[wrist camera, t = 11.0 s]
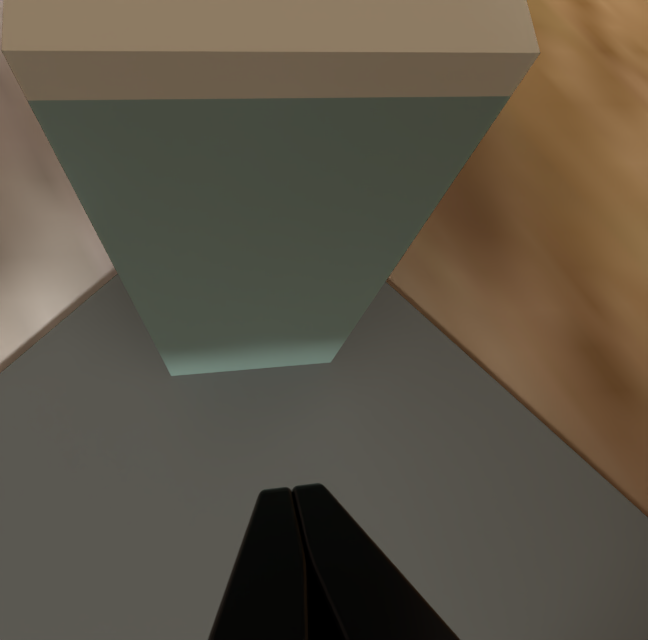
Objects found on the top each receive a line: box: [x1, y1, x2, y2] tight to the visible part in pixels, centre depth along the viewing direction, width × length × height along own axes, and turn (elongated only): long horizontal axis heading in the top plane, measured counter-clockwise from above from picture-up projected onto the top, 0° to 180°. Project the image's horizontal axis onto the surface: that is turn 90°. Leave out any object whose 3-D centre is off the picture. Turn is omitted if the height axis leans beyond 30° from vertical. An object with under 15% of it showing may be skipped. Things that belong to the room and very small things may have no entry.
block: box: [2, 0, 540, 376], centre depth 11 cm, size 4×4×12 cm
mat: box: [0, 274, 648, 640], centre depth 16 cm, size 14×18×1 cm
